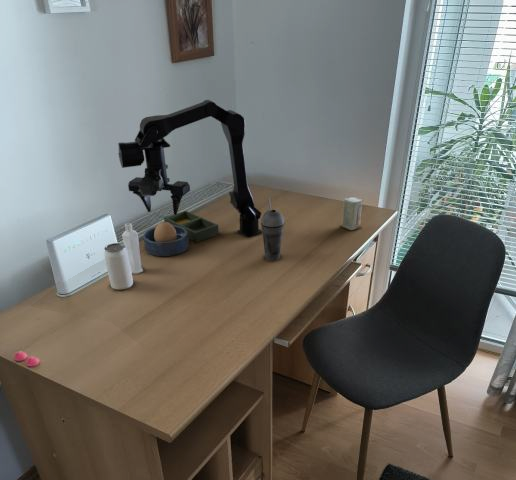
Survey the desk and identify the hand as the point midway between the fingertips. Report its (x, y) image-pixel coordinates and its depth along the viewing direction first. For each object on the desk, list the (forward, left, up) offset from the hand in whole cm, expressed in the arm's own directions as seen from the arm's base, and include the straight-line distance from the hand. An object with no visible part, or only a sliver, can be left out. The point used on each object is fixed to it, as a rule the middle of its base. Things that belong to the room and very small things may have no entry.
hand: (162, 213), depth 159 cm
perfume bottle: (-7, +16, -12) cm, 21 cm away
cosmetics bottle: (-32, -57, -12) cm, 67 cm away
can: (-12, +24, -12) cm, 30 cm away
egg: (0, 0, -12) cm, 12 cm away
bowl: (0, 0, -12) cm, 12 cm away
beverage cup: (-30, -20, -12) cm, 38 cm away
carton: (+6, -14, -12) cm, 20 cm away
